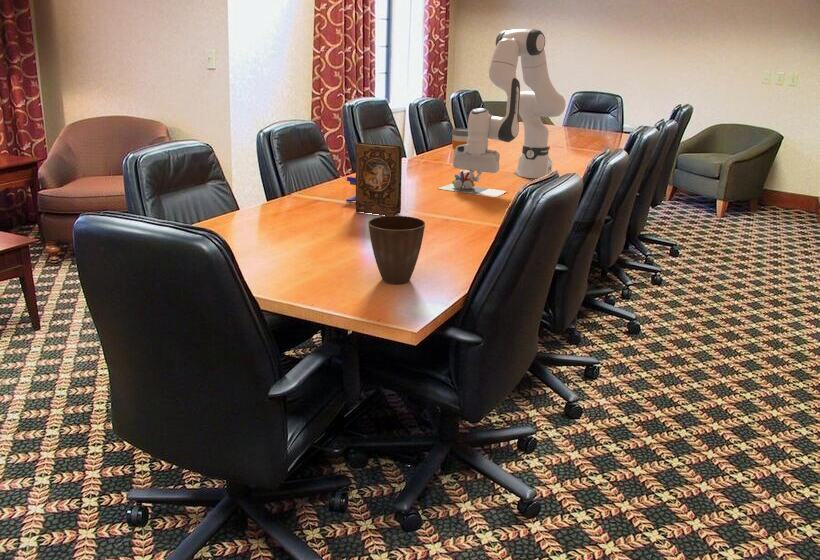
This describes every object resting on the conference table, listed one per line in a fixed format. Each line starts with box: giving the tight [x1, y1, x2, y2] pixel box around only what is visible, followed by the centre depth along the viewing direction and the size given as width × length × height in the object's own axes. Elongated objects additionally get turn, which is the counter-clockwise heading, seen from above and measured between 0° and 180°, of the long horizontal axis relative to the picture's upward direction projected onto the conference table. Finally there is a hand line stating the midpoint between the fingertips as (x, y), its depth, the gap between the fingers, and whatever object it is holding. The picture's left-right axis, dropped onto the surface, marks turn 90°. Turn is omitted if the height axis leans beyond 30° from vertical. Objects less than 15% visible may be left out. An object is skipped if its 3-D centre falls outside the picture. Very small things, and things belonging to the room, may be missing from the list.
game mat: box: [437, 183, 507, 198], centre depth 297 cm, size 14×27×1 cm, turn 59°
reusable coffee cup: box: [451, 127, 468, 155], centre depth 372 cm, size 12×13×15 cm
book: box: [355, 142, 403, 216], centre depth 251 cm, size 16×6×25 cm, turn 71°
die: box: [458, 169, 471, 178], centre depth 311 cm, size 5×5×5 cm
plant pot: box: [367, 215, 426, 285], centre depth 185 cm, size 15×15×16 cm
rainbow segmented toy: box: [451, 170, 476, 190], centre depth 298 cm, size 8×10×7 cm
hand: (475, 181), depth 295 cm, fingers closed
